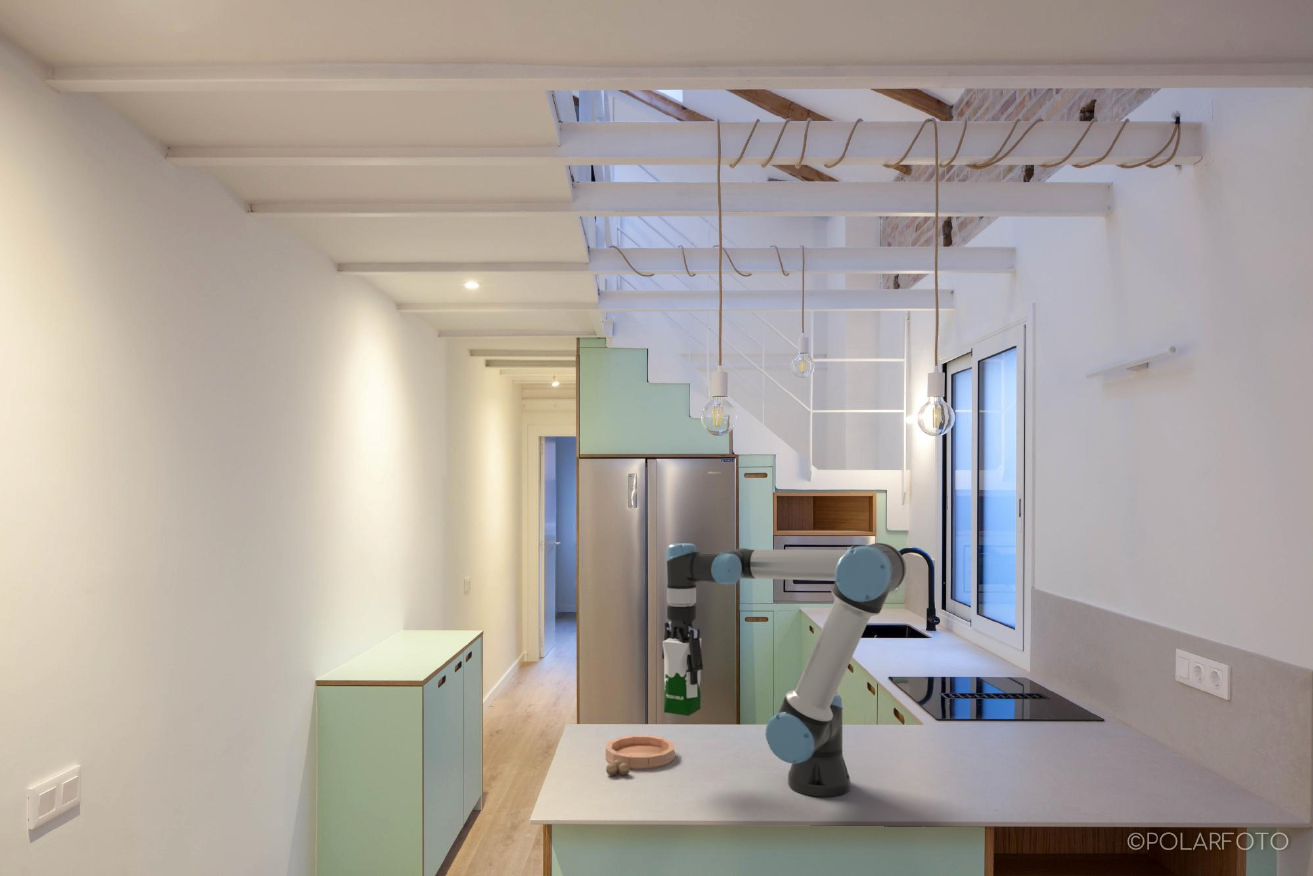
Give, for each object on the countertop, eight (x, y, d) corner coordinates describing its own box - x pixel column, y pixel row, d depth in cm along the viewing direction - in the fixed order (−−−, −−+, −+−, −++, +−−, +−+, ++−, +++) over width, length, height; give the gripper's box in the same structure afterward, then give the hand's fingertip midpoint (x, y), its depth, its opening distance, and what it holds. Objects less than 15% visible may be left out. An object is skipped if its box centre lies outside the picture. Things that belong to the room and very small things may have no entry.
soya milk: (705, 708, 213) (704, 630, 214) (689, 717, 205) (689, 636, 206) (674, 704, 217) (674, 627, 218) (658, 713, 209) (658, 633, 210)
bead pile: (631, 775, 211) (631, 764, 211) (611, 779, 209) (611, 767, 209) (621, 768, 217) (621, 757, 217) (601, 772, 214) (601, 760, 214)
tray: (687, 761, 222) (687, 750, 222) (624, 774, 213) (624, 762, 213) (653, 742, 238) (653, 731, 239) (594, 752, 229) (594, 741, 229)
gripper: (717, 608, 204) (717, 700, 203) (672, 597, 223) (673, 682, 222) (691, 611, 201) (691, 705, 200) (648, 599, 220) (648, 685, 219)
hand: (681, 692), depth 211 cm, fingers closed on soya milk, 9 cm apart
